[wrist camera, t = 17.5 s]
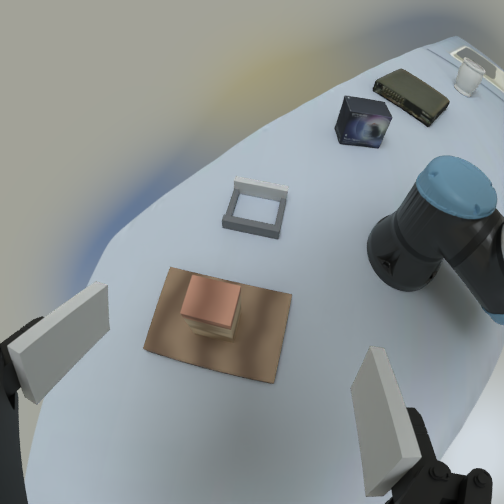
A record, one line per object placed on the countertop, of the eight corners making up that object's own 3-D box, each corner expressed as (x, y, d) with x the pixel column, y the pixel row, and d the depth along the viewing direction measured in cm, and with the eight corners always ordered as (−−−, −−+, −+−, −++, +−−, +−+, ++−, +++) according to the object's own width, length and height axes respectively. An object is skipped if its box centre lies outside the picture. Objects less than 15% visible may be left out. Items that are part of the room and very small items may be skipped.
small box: (339, 145, 66) (350, 111, 57) (333, 127, 69) (343, 94, 60) (379, 149, 67) (393, 117, 57) (372, 132, 69) (384, 100, 60)
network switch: (368, 94, 79) (372, 81, 74) (390, 74, 88) (394, 63, 83) (434, 134, 73) (441, 121, 68) (446, 107, 81) (452, 97, 77)
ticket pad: (241, 311, 46) (240, 285, 36) (233, 343, 44) (230, 326, 34) (203, 302, 46) (192, 274, 37) (194, 333, 44) (179, 313, 34)
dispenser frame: (286, 197, 58) (288, 186, 55) (277, 239, 54) (279, 228, 51) (235, 188, 59) (235, 176, 56) (222, 227, 55) (221, 216, 52)
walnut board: (290, 298, 49) (291, 294, 47) (272, 383, 43) (273, 383, 41) (172, 271, 51) (170, 266, 49) (146, 350, 44) (143, 348, 43)
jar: (460, 96, 87) (474, 68, 74) (447, 81, 91) (459, 54, 78) (476, 100, 88) (490, 74, 74) (463, 86, 92) (475, 60, 79)
